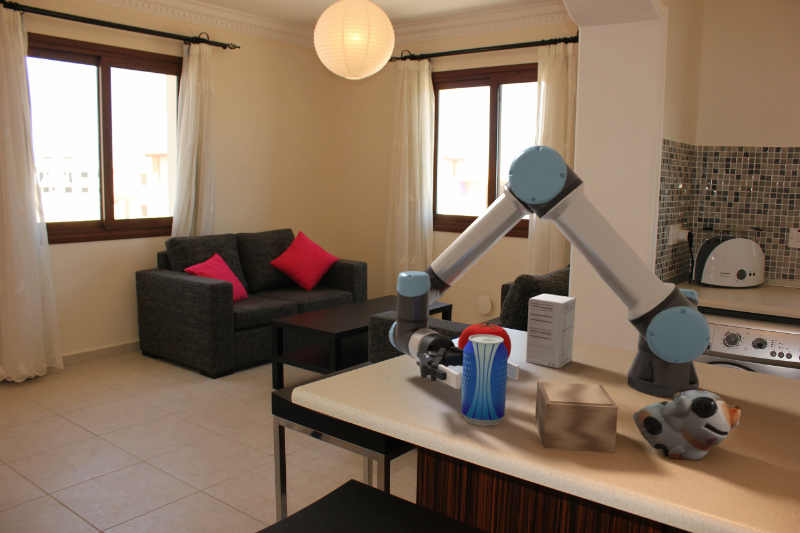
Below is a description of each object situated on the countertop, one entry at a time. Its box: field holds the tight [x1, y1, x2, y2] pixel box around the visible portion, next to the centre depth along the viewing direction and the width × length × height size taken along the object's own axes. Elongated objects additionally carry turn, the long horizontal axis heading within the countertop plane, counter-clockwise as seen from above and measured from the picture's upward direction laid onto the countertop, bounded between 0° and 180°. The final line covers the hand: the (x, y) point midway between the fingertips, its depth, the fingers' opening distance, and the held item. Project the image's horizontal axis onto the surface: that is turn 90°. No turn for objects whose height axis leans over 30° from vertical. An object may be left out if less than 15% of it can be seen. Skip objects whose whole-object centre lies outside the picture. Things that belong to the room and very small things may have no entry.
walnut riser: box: [534, 381, 619, 453], centre depth 112 cm, size 12×12×8 cm
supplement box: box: [525, 293, 577, 369], centre depth 160 cm, size 10×9×17 cm
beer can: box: [460, 334, 509, 427], centre depth 119 cm, size 8×8×16 cm
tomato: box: [457, 322, 512, 359], centre depth 155 cm, size 12×13×11 cm
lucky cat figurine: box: [632, 390, 742, 461], centre depth 107 cm, size 15×12×14 cm
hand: (488, 377), depth 117 cm, fingers open, 13 cm apart
